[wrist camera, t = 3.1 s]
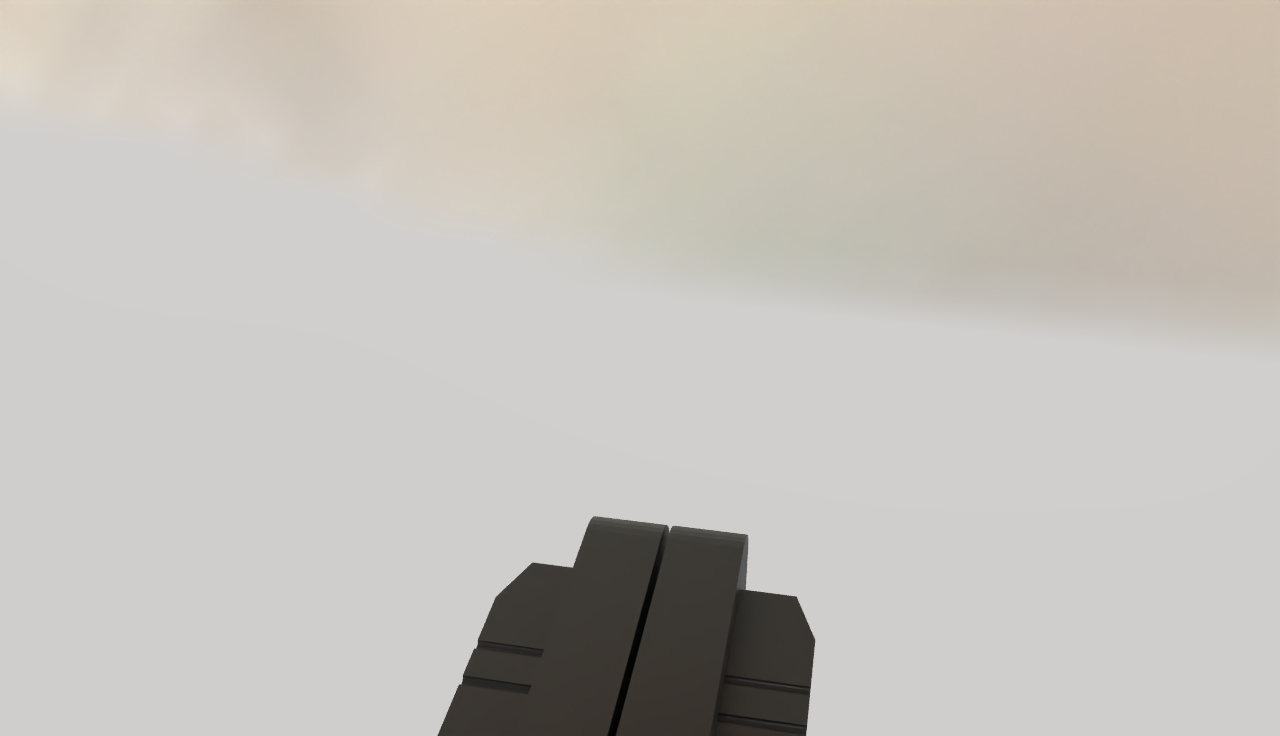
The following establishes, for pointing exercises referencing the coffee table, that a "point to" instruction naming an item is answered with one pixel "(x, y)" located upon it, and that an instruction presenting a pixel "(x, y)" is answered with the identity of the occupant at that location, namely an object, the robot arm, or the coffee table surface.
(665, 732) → the robot arm
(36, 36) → the coffee table surface
